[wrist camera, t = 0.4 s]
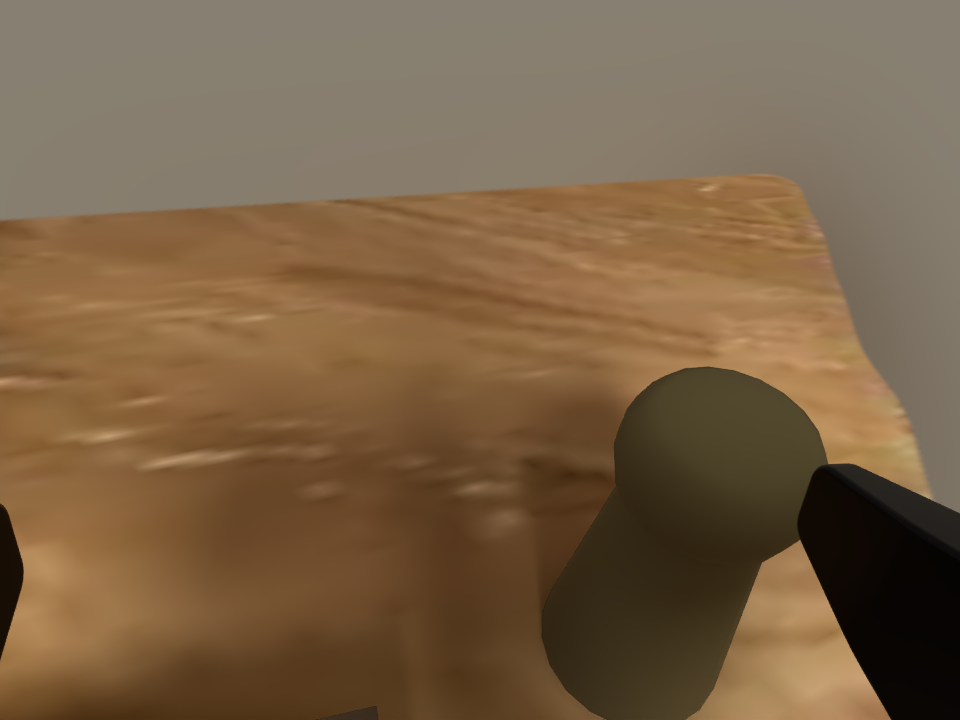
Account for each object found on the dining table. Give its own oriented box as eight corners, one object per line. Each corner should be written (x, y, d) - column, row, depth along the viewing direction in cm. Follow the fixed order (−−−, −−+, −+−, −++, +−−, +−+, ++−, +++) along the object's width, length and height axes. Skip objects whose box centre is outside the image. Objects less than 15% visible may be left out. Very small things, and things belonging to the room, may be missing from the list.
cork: (623, 531, 28) (716, 306, 21) (754, 655, 25) (917, 441, 18) (504, 618, 25) (563, 389, 18) (636, 772, 22) (775, 571, 14)
